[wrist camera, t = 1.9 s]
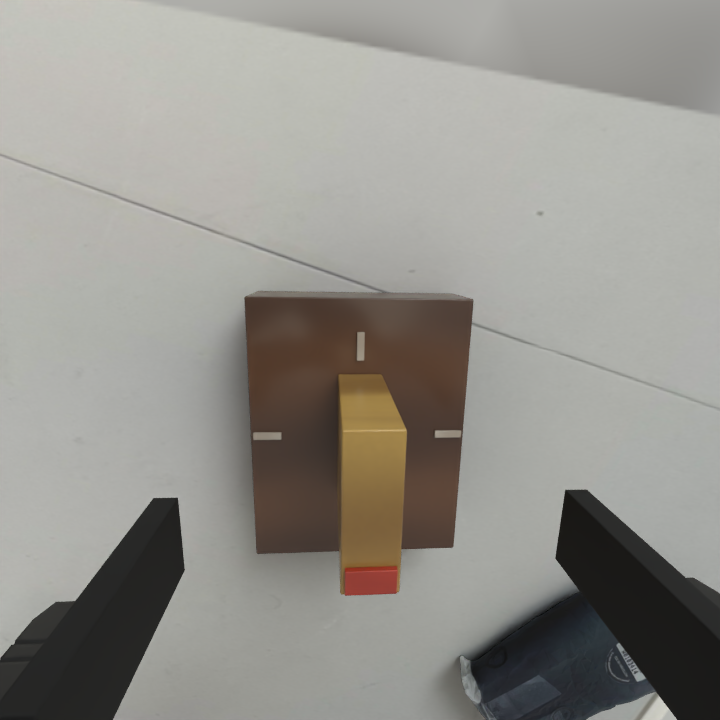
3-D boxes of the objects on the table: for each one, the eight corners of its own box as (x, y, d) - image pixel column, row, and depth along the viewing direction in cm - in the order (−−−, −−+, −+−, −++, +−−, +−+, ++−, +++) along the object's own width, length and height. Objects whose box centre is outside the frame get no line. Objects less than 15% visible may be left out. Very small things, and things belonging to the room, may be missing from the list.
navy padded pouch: (508, 710, 33) (696, 643, 30) (527, 795, 28) (759, 723, 24) (449, 620, 32) (637, 540, 29) (456, 689, 27) (689, 601, 24)
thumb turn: (337, 373, 20) (341, 433, 13) (382, 373, 21) (409, 432, 13) (337, 491, 22) (340, 600, 15) (378, 490, 22) (400, 598, 15)
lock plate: (257, 291, 23) (243, 296, 19) (453, 293, 23) (475, 299, 20) (265, 515, 26) (255, 556, 22) (437, 511, 27) (454, 550, 23)
